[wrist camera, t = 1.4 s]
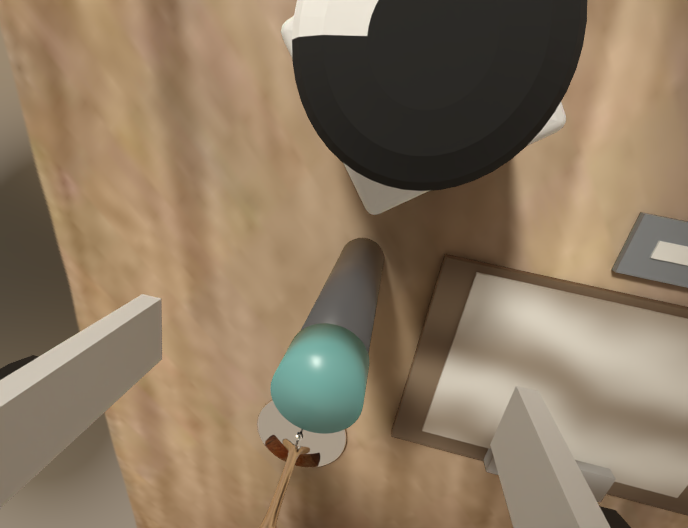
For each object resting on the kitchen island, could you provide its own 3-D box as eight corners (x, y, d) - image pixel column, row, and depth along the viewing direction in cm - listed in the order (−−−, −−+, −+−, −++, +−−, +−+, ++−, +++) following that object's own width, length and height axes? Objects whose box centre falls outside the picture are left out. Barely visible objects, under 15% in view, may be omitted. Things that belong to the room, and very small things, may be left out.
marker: (344, 232, 23) (275, 346, 11) (390, 242, 23) (371, 370, 11) (336, 274, 24) (266, 419, 12) (380, 284, 24) (353, 443, 12)
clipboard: (445, 254, 22) (447, 263, 21) (828, 337, 20) (861, 354, 19) (391, 430, 28) (390, 447, 26) (687, 508, 26) (704, 531, 24)
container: (511, 127, 19) (685, 125, 7) (381, 189, 22) (350, 267, 10) (458, -24, 17) (575, -369, 5) (321, 62, 20) (189, -42, 8)
